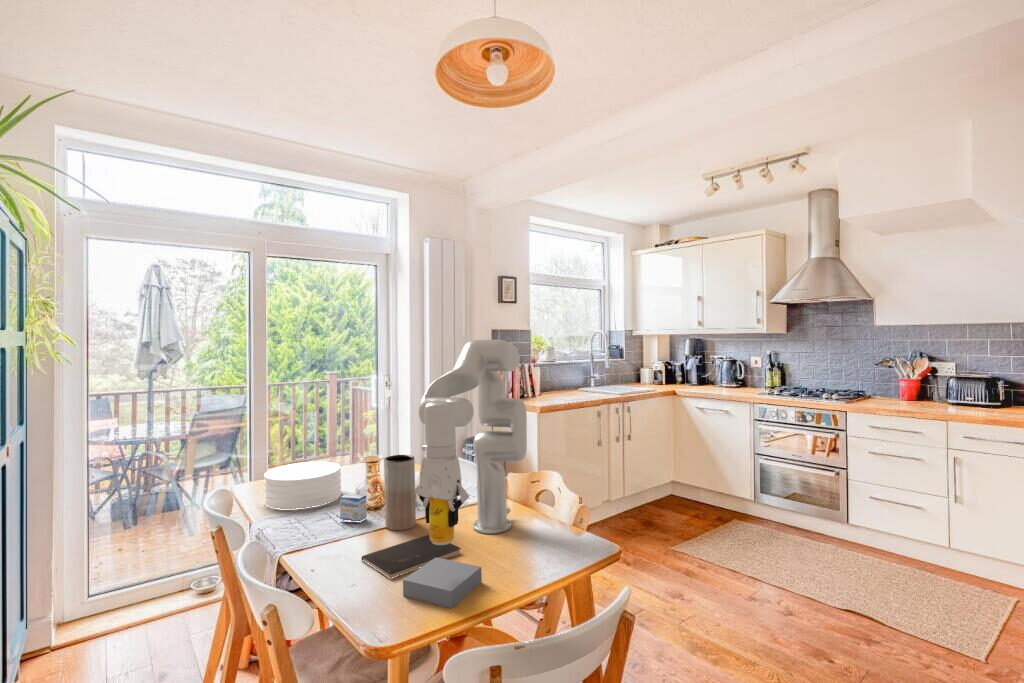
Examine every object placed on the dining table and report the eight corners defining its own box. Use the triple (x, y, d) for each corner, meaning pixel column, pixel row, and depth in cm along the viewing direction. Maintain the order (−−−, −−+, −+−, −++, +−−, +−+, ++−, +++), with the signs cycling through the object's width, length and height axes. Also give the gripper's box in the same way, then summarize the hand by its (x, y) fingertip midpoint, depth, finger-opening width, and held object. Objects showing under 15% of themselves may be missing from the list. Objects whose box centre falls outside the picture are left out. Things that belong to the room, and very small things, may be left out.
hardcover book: (461, 555, 152) (460, 547, 152) (390, 582, 136) (389, 573, 136) (430, 540, 163) (429, 533, 163) (361, 563, 148) (361, 555, 148)
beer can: (427, 538, 132) (426, 479, 132) (451, 535, 134) (449, 476, 134) (432, 547, 126) (431, 485, 126) (457, 543, 129) (455, 482, 128)
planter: (393, 533, 168) (392, 463, 168) (380, 525, 176) (378, 457, 176) (421, 525, 175) (419, 457, 174) (406, 518, 182) (405, 453, 182)
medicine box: (339, 522, 179) (339, 497, 179) (346, 518, 184) (346, 493, 184) (360, 524, 178) (360, 498, 177) (367, 519, 182) (366, 494, 182)
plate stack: (265, 494, 214) (264, 466, 214) (336, 485, 226) (336, 458, 225) (264, 515, 188) (263, 483, 188) (345, 503, 200) (344, 473, 200)
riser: (436, 572, 140) (435, 557, 140) (481, 582, 134) (481, 566, 134) (403, 595, 128) (402, 579, 127) (451, 608, 121) (451, 591, 121)
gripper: (403, 451, 131) (404, 523, 131) (462, 457, 123) (463, 534, 123) (421, 445, 137) (422, 514, 138) (478, 451, 130) (479, 523, 130)
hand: (441, 522), depth 130 cm, fingers closed on beer can, 6 cm apart
